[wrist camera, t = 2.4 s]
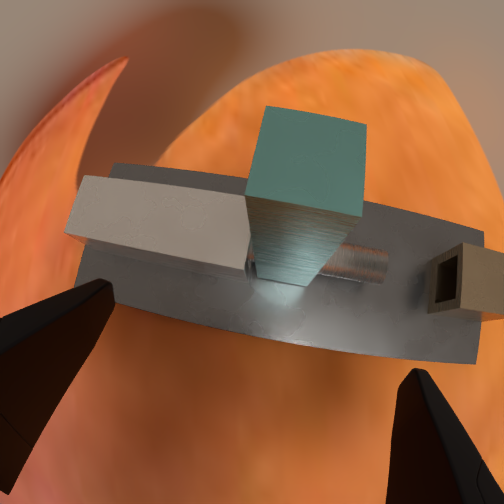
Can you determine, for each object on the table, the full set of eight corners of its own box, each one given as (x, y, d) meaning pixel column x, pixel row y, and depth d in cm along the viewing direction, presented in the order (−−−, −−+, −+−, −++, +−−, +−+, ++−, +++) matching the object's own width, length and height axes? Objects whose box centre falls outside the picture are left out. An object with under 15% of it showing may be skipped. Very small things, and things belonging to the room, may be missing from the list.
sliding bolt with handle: (100, 244, 20) (-18, 167, 9) (113, 204, 21) (13, 107, 10) (368, 297, 19) (484, 247, 7) (374, 251, 19) (477, 159, 8)
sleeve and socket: (80, 291, 21) (38, 278, 16) (119, 168, 23) (90, 133, 18) (468, 363, 18) (511, 366, 13) (477, 235, 21) (514, 213, 16)
